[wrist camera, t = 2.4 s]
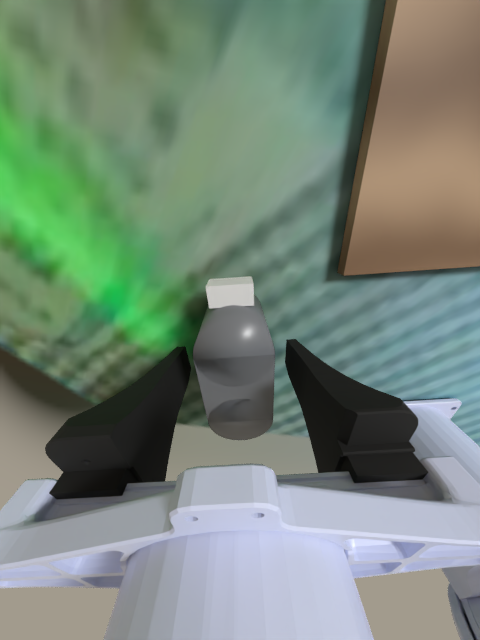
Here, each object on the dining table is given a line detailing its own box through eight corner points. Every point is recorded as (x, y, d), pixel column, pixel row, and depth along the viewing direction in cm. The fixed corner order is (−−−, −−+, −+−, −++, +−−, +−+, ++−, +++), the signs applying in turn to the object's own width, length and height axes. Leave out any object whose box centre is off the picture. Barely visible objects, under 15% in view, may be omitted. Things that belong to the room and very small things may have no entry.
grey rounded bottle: (262, 381, 17) (272, 438, 12) (218, 384, 17) (212, 441, 12) (261, 268, 12) (276, 294, 8) (200, 272, 12) (179, 301, 8)
